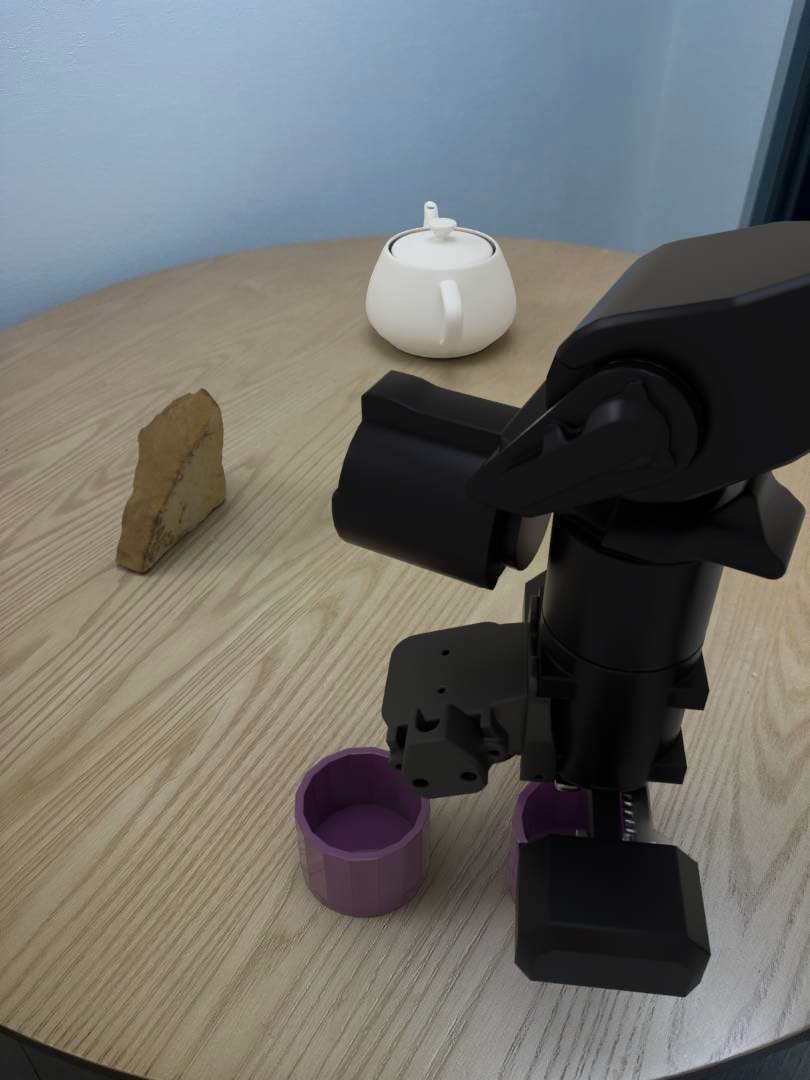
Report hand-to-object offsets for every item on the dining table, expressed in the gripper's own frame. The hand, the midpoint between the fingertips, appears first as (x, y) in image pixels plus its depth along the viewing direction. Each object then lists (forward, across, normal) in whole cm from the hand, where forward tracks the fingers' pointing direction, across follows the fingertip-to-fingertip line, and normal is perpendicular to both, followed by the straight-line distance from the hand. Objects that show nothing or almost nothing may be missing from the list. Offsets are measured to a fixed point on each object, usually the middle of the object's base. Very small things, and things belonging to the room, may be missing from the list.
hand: (575, 865), depth 43 cm
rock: (+1, -24, -27) cm, 36 cm away
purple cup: (+1, 0, 0) cm, 1 cm away
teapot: (+2, -56, -11) cm, 57 cm away
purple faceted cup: (+1, 0, -10) cm, 10 cm away
